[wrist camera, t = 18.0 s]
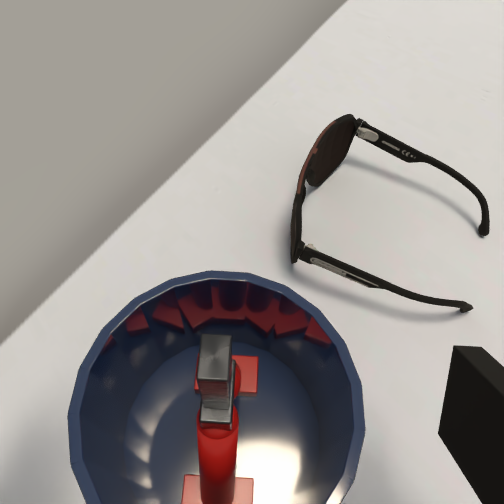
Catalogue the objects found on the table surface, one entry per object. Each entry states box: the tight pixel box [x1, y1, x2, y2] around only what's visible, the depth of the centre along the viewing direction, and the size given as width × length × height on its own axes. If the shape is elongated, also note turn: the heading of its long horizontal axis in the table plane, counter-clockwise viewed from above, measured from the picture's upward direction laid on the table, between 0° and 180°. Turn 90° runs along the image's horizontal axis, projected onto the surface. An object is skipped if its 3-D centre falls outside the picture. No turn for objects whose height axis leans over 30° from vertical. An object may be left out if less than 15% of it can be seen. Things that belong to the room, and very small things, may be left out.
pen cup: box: [67, 271, 365, 504], centre depth 18 cm, size 10×10×8 cm
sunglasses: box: [291, 114, 490, 313], centre depth 26 cm, size 11×12×5 cm
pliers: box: [181, 333, 259, 504], centre depth 16 cm, size 3×7×12 cm, turn 177°
